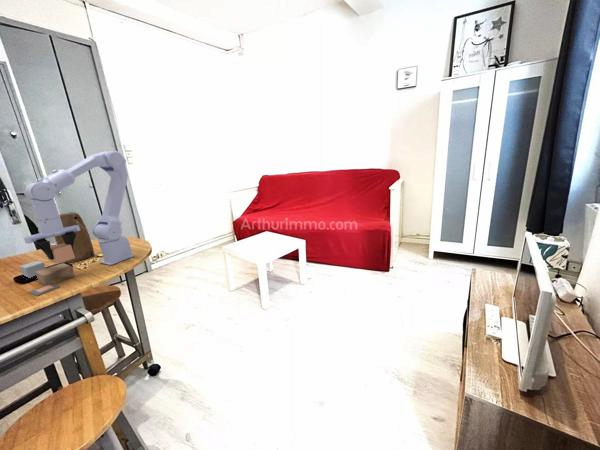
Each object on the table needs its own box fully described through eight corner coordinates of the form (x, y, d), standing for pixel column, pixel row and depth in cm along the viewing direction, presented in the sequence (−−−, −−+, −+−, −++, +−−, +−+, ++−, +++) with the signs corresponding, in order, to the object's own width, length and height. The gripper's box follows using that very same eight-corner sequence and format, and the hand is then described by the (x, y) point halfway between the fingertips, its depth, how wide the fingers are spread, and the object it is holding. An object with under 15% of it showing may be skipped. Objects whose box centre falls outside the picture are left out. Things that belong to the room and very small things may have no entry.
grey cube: (41, 272, 101) (37, 260, 100) (47, 274, 99) (43, 262, 98) (24, 278, 97) (19, 266, 96) (30, 280, 95) (25, 268, 93)
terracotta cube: (67, 256, 96) (63, 243, 95) (75, 258, 94) (70, 244, 92) (50, 261, 92) (45, 248, 90) (58, 263, 89) (53, 249, 88)
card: (51, 284, 90) (51, 282, 90) (60, 287, 88) (59, 285, 88) (28, 292, 85) (28, 291, 85) (37, 296, 83) (36, 294, 83)
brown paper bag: (62, 265, 107) (46, 217, 102) (64, 259, 113) (49, 214, 108) (95, 257, 113) (81, 212, 108) (95, 252, 119) (82, 209, 114)
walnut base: (66, 272, 100) (63, 262, 99) (75, 276, 96) (71, 266, 95) (38, 281, 94) (35, 271, 93) (46, 286, 90) (42, 276, 89)
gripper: (25, 225, 81) (40, 265, 84) (80, 213, 93) (90, 249, 97) (15, 223, 84) (30, 263, 87) (69, 213, 96) (80, 248, 100)
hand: (61, 256), depth 92 cm, fingers closed on terracotta cube, 5 cm apart
